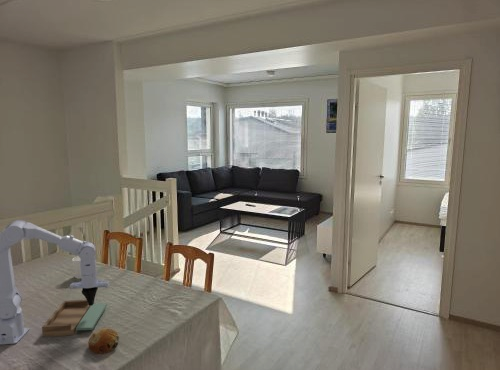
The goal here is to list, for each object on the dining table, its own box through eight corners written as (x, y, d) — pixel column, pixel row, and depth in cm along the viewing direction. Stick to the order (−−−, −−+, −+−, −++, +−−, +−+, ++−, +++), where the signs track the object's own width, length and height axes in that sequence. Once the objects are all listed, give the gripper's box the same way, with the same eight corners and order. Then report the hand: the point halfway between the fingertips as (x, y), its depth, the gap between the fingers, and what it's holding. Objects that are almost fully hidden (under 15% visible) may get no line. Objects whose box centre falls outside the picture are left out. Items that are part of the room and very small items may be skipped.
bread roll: (113, 344, 131) (107, 324, 132) (126, 343, 125) (119, 322, 126) (87, 358, 124) (81, 336, 125) (99, 357, 117) (93, 334, 118)
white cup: (73, 274, 186) (72, 256, 184) (90, 272, 189) (88, 254, 187) (73, 280, 178) (71, 262, 177) (90, 277, 182) (88, 259, 180)
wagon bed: (73, 334, 131) (72, 325, 131) (43, 336, 130) (41, 327, 130) (91, 307, 151) (90, 299, 150) (65, 309, 150) (64, 300, 149)
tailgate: (75, 331, 132) (92, 331, 133) (75, 327, 132) (92, 327, 132) (92, 306, 150) (107, 306, 151) (92, 303, 150) (107, 303, 151)
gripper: (110, 268, 143) (112, 298, 145) (73, 269, 141) (76, 300, 144) (105, 275, 136) (107, 307, 138) (66, 276, 134) (69, 309, 137)
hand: (91, 304), depth 140 cm, fingers closed
